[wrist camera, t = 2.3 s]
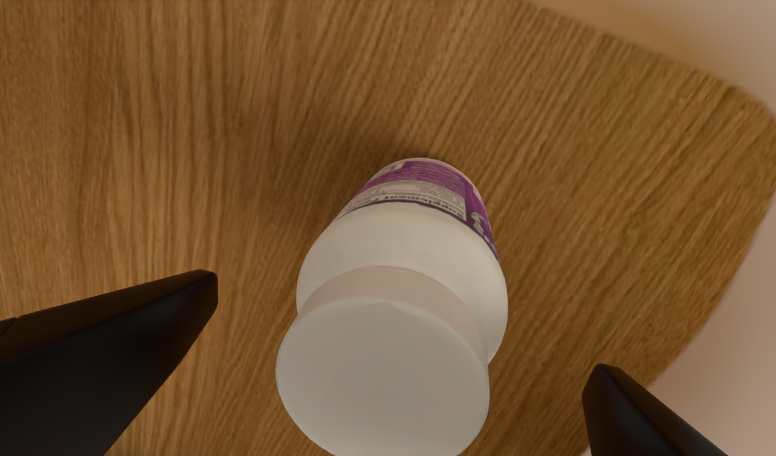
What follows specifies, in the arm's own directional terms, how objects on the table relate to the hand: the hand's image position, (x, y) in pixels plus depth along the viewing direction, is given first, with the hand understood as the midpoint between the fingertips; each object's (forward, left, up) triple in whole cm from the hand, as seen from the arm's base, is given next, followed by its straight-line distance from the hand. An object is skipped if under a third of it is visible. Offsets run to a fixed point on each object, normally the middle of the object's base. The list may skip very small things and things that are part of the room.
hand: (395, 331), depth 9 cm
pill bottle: (0, 0, -8) cm, 8 cm away
